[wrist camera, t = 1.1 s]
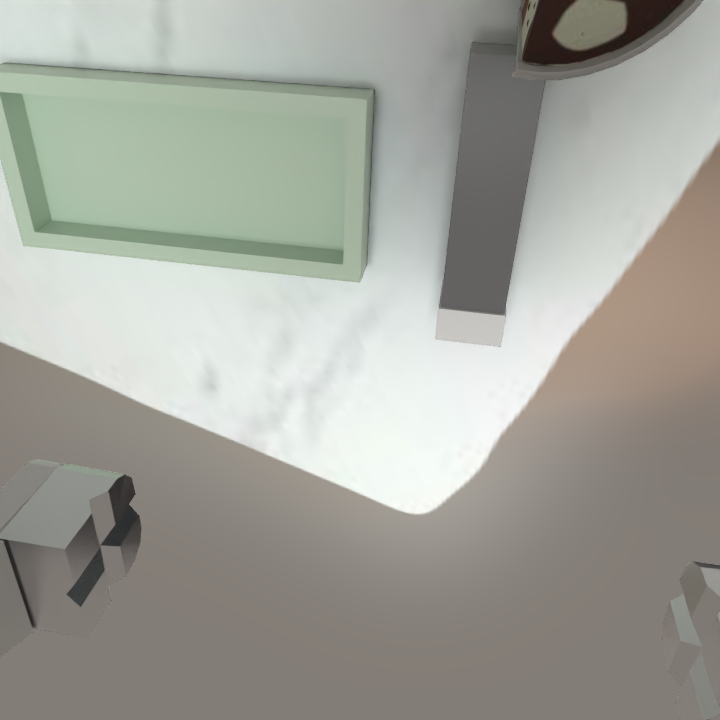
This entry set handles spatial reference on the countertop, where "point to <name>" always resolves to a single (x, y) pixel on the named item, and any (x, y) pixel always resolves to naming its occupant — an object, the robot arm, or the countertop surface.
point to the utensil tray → (189, 168)
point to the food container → (590, 34)
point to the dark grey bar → (488, 195)
